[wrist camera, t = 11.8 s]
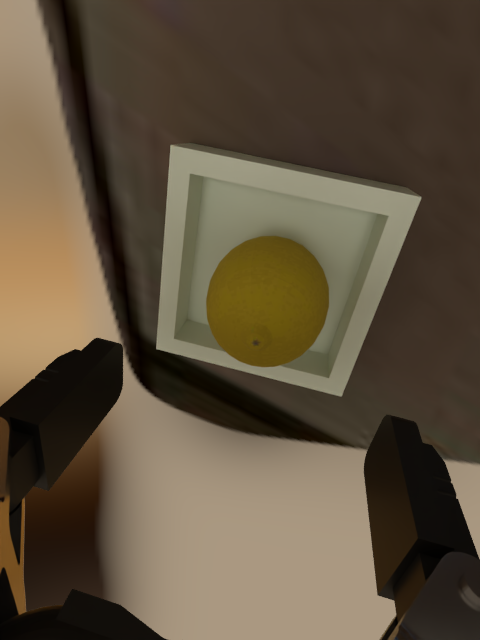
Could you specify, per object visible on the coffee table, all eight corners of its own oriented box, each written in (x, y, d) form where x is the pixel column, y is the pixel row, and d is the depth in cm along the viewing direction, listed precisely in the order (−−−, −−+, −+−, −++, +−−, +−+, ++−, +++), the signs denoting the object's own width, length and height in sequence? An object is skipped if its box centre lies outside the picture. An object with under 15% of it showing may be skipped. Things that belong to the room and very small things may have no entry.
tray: (406, 187, 18) (421, 197, 15) (338, 366, 23) (341, 396, 21) (191, 142, 19) (170, 145, 16) (173, 325, 24) (156, 348, 21)
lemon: (241, 320, 22) (207, 407, 15) (216, 231, 20) (162, 287, 13) (334, 306, 21) (343, 395, 14) (317, 208, 18) (318, 256, 12)
